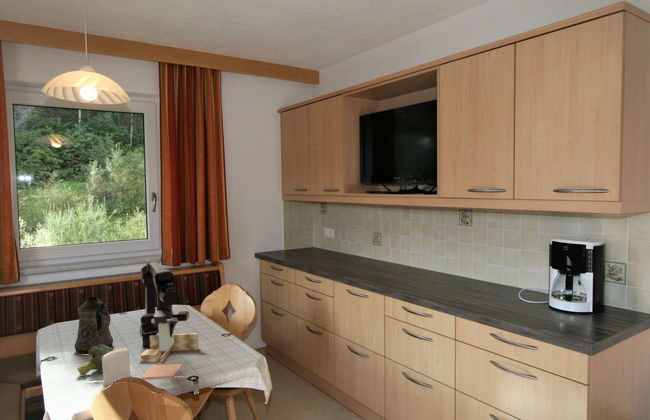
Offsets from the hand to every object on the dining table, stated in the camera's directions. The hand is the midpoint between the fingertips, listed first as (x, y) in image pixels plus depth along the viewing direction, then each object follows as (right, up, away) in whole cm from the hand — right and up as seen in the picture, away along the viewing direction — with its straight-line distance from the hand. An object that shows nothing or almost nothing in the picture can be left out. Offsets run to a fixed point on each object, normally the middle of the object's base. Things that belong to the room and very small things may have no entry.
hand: (166, 337), depth 185 cm
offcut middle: (-11, -13, +11) cm, 20 cm away
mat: (-1, -14, -2) cm, 14 cm away
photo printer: (-16, -15, -10) cm, 24 cm away
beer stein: (-43, -14, +27) cm, 52 cm away
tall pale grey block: (0, -4, 0) cm, 4 cm away
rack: (-3, -13, +14) cm, 19 cm away
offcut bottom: (-11, -14, +11) cm, 21 cm away
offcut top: (-11, -11, +11) cm, 19 cm away
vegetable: (-28, -15, -1) cm, 32 cm away
